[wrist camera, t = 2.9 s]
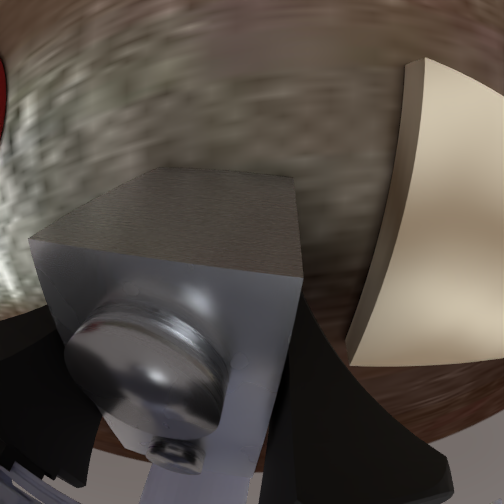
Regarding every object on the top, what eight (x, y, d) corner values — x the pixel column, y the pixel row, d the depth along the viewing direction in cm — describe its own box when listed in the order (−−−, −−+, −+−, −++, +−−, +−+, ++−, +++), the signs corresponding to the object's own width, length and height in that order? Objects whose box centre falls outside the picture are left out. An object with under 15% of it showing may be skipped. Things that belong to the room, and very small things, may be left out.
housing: (267, 356, 12) (249, 497, 6) (172, 340, 13) (117, 465, 7) (293, 177, 9) (306, 321, 3) (159, 167, 9) (-3, 260, 3)
